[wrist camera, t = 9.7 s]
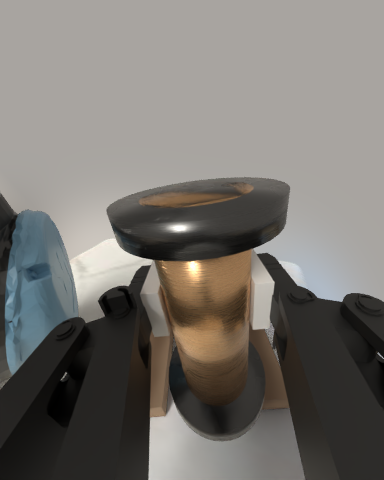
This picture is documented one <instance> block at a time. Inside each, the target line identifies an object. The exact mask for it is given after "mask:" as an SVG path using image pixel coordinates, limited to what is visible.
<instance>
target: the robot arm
mask: <svg viewBox="0 0 384 480" xmlns="http://www.w3.org/2000/svg"><path fill="white" fill-rule="evenodd" d="M98 302H99V304H100V306H101V308H102V310H103V312H104V314H105V317H103V318H100V319H97V320H95V321H92V322H89V323H85V321H84V320H83V319H82V318H81V317H78V302H77V294H76V288H75V283H74V278H73V274H72V270H71V266H70V262H69V259H68V255H67V252H66V249H65V246H64V243H63V241H62V238H61V236H60V234H59V231H58V229H57V227H56V225H55V224H54V222H53V221H52V220H51V218H50V217H49V215H48V214H46V213H44V212H42V211H31V210H25V211H22V212H21V213H19V214H17V213H16V212H14V210H13V209H12V208H11V207H10V205H9V204H8V203H7V201H6V200H5V198H4V197H3V196H2V194H1V193H0V383H1V382H3V381H5V380H7V379H9V378H10V379H9V380H8V382H7V383H6V384H5V385H4V386H3V387H2V389H1V390H0V480H148V472H149V432H150V392H151V353H152V346H151V341H150V335H151V331H152V332H153V335H154V337H160V336H170V330H171V322H170V319H169V315H168V311H167V307H166V304H165V300H164V296H163V292H162V288H161V285H160V281H159V277H158V273H157V269H156V266H155V262H154V260H153V262H152V265H149V266H142V267H141V268H140V269H138V270H137V271H136V273H135V275H134V277H133V279H132V281H131V284H130V285H129V287H128V286H118V287H115V288H112V289H110V290H108V291H107V292H105V293H104V294H103V295H102V296H101V297H100V299H99V300H98ZM249 320H250V323H251V326H252V329H253V330H256V329H269V328H270V321H271V323H272V325H273V327H274V329H275V330H274V337H273V349H275V348H276V349H277V354H278V358H279V363H280V367H281V372H282V376H283V381H284V385H285V390H286V394H287V398H288V403H289V407H290V412H291V416H292V421H293V425H294V430H295V434H296V439H297V443H298V448H299V452H300V457H301V461H302V466H303V470H304V475H305V479H306V480H384V359H383V358H384V302H382V301H381V300H379V299H377V298H374V297H372V296H369V295H365V294H360V293H351V294H348V295H346V296H345V297H344V299H343V302H339V301H332V300H325V299H320V298H317V297H316V296H315V294H314V293H312V292H311V291H309V290H308V289H306V288H303V287H300V286H297V284H296V283H295V282H294V281H293V279H292V278H291V277H290V276H289V274H288V273H287V272H286V271H285V269H283V267H282V266H281V264H279V262H278V261H277V259H276V258H275V257H273V256H271V255H270V254H268V253H262V254H256V253H255V252H254V250H253V249H252V253H251V284H250V314H249ZM378 352H379V353H380V355H381V356H383V358H382V357H380V356H379V355H378V354H377V353H378ZM65 372H67V375H66V376H65V377H64V379H63V380H61V379H62V377H63V375H64V374H65ZM60 380H61V381H60Z"/></svg>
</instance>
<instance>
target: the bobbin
mask: <svg viewBox="0 0 384 480" xmlns="http://www.w3.org/2000/svg"><path fill="white" fill-rule="evenodd" d="M289 193H290V187H289V185H288V184H286V183H285V182H281V181H278V180H274V179H266V178H219V179H208V180H199V181H191V182H185V183H178V184H172V185H167V186H163V187H158V188H154V189H149V190H145V191H142V192H138V193H135V194H132V195H129V196H127V197H124V198H122V199H119V200H117V201H116V202H114V203H112V204H111V205H110V206H109V207H108V208H107V215H108V217H109V220H110V223H111V226H112V228H113V231H114V234H115V237H116V240H117V243H118V244H119V246H120V247H121V248H122V249H123V250H124V251H126V252H128V253H130V254H132V255H135V256H138V257H141V258H146V259H152V260H154V262H155V266H156V269H157V273H158V277H159V281H160V285H161V288H162V292H163V296H164V300H165V304H166V307H167V311H168V315H169V319H170V322H171V326H172V330H173V334H174V338H175V341H176V345H177V346H176V348H175V350H174V352H173V354H172V357H171V360H170V365H169V385H170V390H171V394H172V397H173V400H174V403H175V405H176V408H177V410H178V412H179V414H180V416H181V417H182V419H183V420H184V421H185V423H186V424H187V425H188V426H189V427H190V428H191V429H192V430H193V431H194V432H196V433H197V434H199V435H200V436H202V437H204V438H207V439H210V440H214V441H229V440H233V439H236V438H238V437H240V436H242V435H243V434H245V433H246V432H247V431H248V430H250V429H251V427H252V426H253V425H254V424H255V422H256V420H257V419H258V417H259V415H260V412H261V410H262V406H263V402H264V395H265V386H266V381H265V371H264V367H263V363H262V360H261V358H260V355H259V353H258V352H257V350H256V348H255V347H254V345H253V344H252V343H251V342H250V340H249V314H250V284H251V253H252V249H253V248H255V247H258V246H260V245H262V244H264V243H266V242H268V241H270V240H272V239H273V238H274V237H276V236H277V235H278V234H279V233H280V232H281V231H282V230H283V229H284V226H285V224H286V217H287V209H288V200H289Z"/></svg>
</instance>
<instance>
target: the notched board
mask: <svg viewBox="0 0 384 480" xmlns="http://www.w3.org/2000/svg"><path fill="white" fill-rule="evenodd" d="M173 336H174V334H173V330H172V326H171V330H170V336H160V337H154V335H153V332H152V331H151V335H150V341H151V346H152V353H151V392H150V417H159V416H166V408H167V397H168V387H169V365H170V360H171V357H172V346H173ZM249 340H250V342H251V343H252V344H253V345H254V347H255V348H256V350H257V352H258V353H259V355H260V358H261V360H262V363H263V367H264V371H265V381H266V386H265V395H264V402H263V406H262V410H264V409H279V408H290V407H289V403H288V398H287V394H286V390H285V385H284V381H283V376H282V372H281V368H280V366H279V363H278V361H277V359H276V356H275V354H274V352H273V349H272V347H271V345H270V342H269V340H268V338H267V335H266V333H265V331H264V329H256V330H253V329H252V326H251V323H250V320H249Z"/></svg>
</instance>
